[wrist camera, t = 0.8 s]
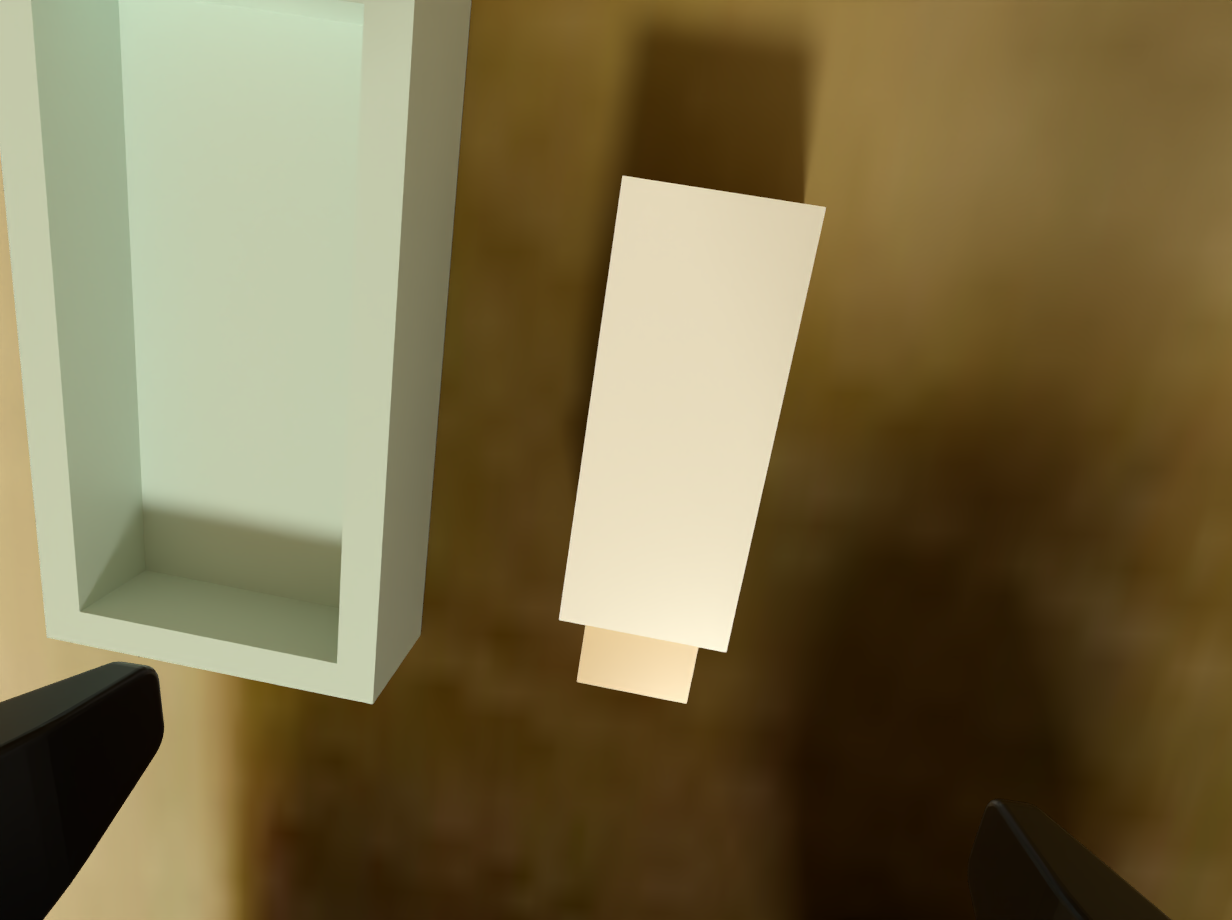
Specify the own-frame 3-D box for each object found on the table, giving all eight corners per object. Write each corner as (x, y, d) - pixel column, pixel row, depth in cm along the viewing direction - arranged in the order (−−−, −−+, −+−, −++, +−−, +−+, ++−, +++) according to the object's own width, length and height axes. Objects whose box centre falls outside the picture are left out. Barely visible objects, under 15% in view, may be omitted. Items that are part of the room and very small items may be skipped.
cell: (802, 208, 19) (826, 207, 15) (710, 637, 22) (710, 723, 19) (639, 183, 19) (622, 175, 15) (575, 611, 23) (548, 691, 19)
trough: (471, 0, 18) (417, -49, 15) (420, 634, 23) (372, 704, 20) (106, -53, 19) (-25, -111, 15) (138, 578, 24) (46, 637, 21)
